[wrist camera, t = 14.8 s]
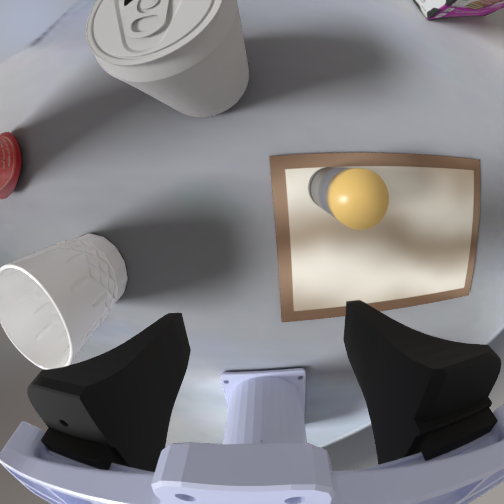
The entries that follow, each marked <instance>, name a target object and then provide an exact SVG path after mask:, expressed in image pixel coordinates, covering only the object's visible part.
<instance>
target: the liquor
mask: <svg viewBox="0 0 504 504" xmlns="http://www.w3.org/2000/svg"><path fill="white" fill-rule="evenodd" d="M21 167H22V155H21V151H20V148H19V145H18V142H17V140H16V138H15V137H14V136H13V135H12V134H11V133H9V132H4V133H2V134H0V199H5V198H7V197H8V196H9V195H10V194H11V193H12V192H13V190H14V188H15V186H16V184H17V181H18V178H19V175H20V172H21Z"/></svg>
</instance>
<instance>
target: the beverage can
mask: <svg viewBox="0 0 504 504" xmlns="http://www.w3.org/2000/svg"><path fill="white" fill-rule="evenodd" d="M86 38H87V43H88V45H89V48H90V49H91V51H92V52H93V53H94V54H95V56H96V59H97V61H98V63H99V64H100V66H101V67H102V68H103V69H104V70H105V71H106V72H107V73H109V74H110V75H112V76H113V77H115V78H117V79H119V80H121V81H123V82H125V83H127V84H129V85H131V86H133V87H135V88H137V89H139V90H141V91H143V92H144V93H146V94H148V95H150V96H152V97H154V98H156V99H157V100H159V101H161V102H163V103H165V104H166V105H168V106H170V107H172V108H173V109H175V110H177V111H179V112H181V113H183V114H185V115H188V116H192V117H210V116H214V115H217V114H220V113H222V112H224V111H226V110H228V109H229V108H231V107H232V106H233V105H234V104H236V103H237V102H238V101H239V99H240V98H241V97H242V95H243V94H244V92H245V90H246V88H247V85H248V81H249V67H248V61H247V55H246V49H245V43H244V37H243V32H242V26H241V20H240V15H239V9H238V4H237V0H97V1H96V2H95V4H94V6H93V8H92V10H91V12H90V14H89V17H88V20H87V25H86Z"/></svg>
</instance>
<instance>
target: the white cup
mask: <svg viewBox="0 0 504 504" xmlns="http://www.w3.org/2000/svg"><path fill="white" fill-rule="evenodd" d="M127 279H128V278H127V272H126V266H125V262H124V260H123V258H122V256H121V255H120V253H119V251H118V249H117V248H116V246H114V245H113V244H112V243H111V242H109V241H108V240H107V239H106V238H104V237H103V236H99V235H94V234H90V233H89V234H86V235H83V236H80V237H78V238H75V239H72V240H65V241H63V242H60V243H57V244H54V245H51V246H49V247H46V248H44V249H42V250H39V251H37V252H34V253H32V254H29V255H27V256H25V257H22V258H20V259H18V260H15V261H13V262H11V263H8V264H6V265H4V266H2V267H1V268H0V323H1V325H2V327H3V329H4V330H5V332H6V334H7V336H8V337H9V339H10V340H11V341H12V343H13V344H14V346H15V347H16V348H17V349H18V350H19V351H20V352H21V353H22V354H23V355H24V356H25V357H26V358H27V359H28V360H29V361H31V362H32V363H33V364H35V365H37V366H38V367H40V368H42V369H45V370H48V369H54V368H60V367H65V366H69V365H70V364H71V363H72V361H73V360H74V359H75V357H76V356H77V354H78V353H79V352H80V350H81V349H82V348H83V346H84V345H85V344H86V343H87V341H88V340H89V339H90V337H91V336H92V335H93V334H94V332H95V331H96V330H97V328H98V327H99V326H100V325H101V323H102V322H103V320H104V319H105V318H106V316H107V315H108V314H109V312H110V310H111V308H112V307H113V305H114V304H115V303H116V302H117V301H118V299H119V298H120V297H121V296H122V295H123V294H124V291H125V287H126V283H127Z"/></svg>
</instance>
